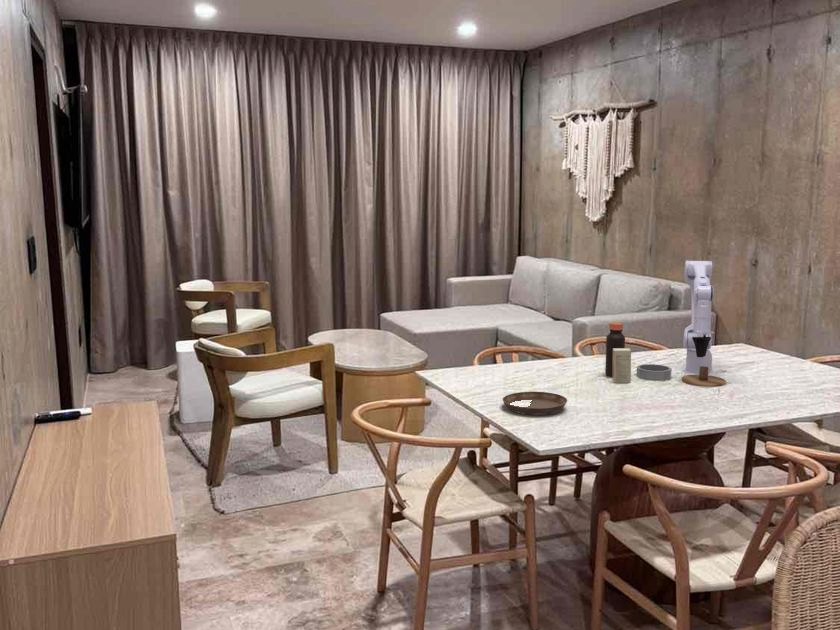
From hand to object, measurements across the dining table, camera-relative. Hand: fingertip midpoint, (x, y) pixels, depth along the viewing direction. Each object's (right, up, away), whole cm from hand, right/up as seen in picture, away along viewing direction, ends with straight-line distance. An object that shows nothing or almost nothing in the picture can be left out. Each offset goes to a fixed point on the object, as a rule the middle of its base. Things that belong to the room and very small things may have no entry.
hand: (701, 356), depth 281 cm
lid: (+1, -9, +2) cm, 9 cm away
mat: (+2, -10, +2) cm, 10 cm away
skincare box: (-28, -10, +5) cm, 30 cm away
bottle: (-28, -8, +14) cm, 32 cm away
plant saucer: (-64, -16, -29) cm, 72 cm away
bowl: (-14, -9, +10) cm, 19 cm away
